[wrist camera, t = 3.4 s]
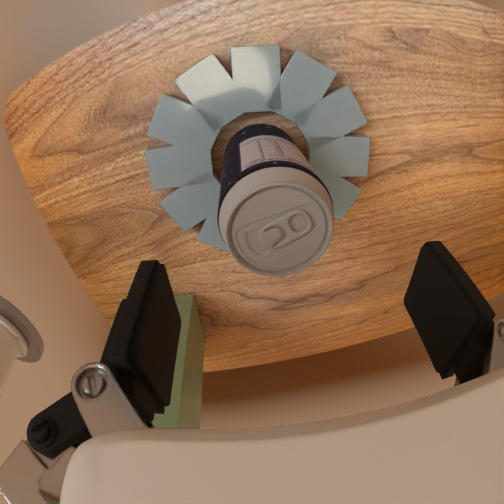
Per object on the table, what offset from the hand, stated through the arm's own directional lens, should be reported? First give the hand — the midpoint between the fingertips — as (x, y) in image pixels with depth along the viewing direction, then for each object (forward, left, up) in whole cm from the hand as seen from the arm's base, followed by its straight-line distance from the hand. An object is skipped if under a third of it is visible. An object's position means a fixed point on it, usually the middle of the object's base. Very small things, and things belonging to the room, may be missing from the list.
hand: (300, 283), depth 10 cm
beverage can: (0, 0, -16) cm, 16 cm away
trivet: (0, 0, -16) cm, 16 cm away
